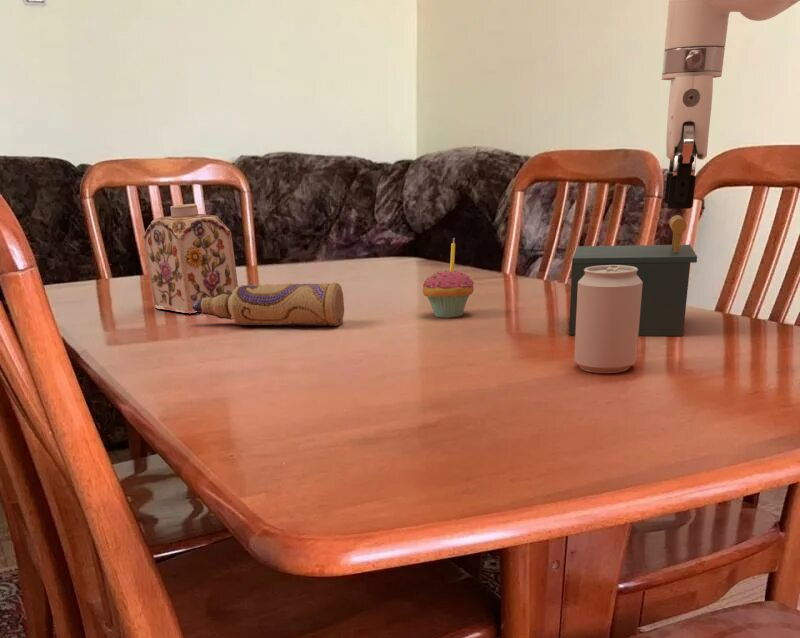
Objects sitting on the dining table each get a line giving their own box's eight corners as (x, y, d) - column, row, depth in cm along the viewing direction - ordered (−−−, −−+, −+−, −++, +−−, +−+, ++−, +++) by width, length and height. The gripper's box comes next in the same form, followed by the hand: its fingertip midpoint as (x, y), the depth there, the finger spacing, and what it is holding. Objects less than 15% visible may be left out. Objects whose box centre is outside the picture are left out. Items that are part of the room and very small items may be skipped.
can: (563, 371, 102) (568, 269, 97) (588, 357, 107) (593, 261, 102) (622, 377, 98) (630, 272, 93) (644, 363, 103) (653, 264, 98)
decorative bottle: (348, 320, 137) (346, 279, 134) (334, 330, 130) (331, 287, 127) (206, 319, 143) (200, 279, 140) (186, 329, 136) (180, 287, 134)
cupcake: (438, 309, 143) (437, 236, 138) (483, 312, 139) (483, 236, 134) (414, 318, 136) (411, 242, 131) (460, 321, 132) (459, 242, 127)
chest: (677, 317, 128) (684, 250, 124) (682, 336, 116) (690, 263, 112) (573, 316, 132) (576, 252, 128) (568, 335, 120) (571, 264, 116)
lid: (689, 250, 124) (693, 212, 122) (696, 262, 112) (701, 221, 110) (577, 251, 128) (578, 215, 126) (572, 263, 116) (573, 223, 113)
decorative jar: (242, 305, 155) (229, 202, 147) (190, 315, 147) (174, 207, 140) (204, 300, 162) (190, 201, 155) (152, 309, 155) (135, 206, 147)
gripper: (730, 59, 100) (711, 210, 107) (716, 68, 115) (700, 200, 122) (665, 62, 102) (651, 211, 109) (660, 71, 117) (648, 201, 124)
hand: (677, 205), depth 116 cm, fingers open, 9 cm apart
